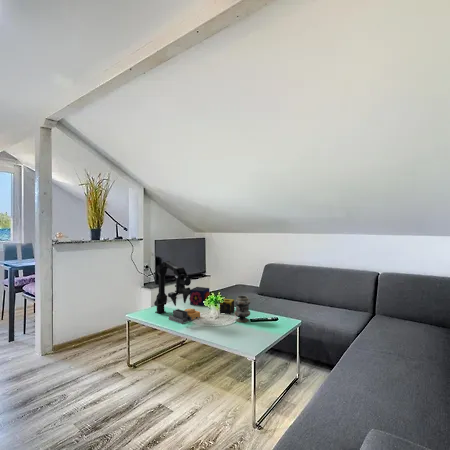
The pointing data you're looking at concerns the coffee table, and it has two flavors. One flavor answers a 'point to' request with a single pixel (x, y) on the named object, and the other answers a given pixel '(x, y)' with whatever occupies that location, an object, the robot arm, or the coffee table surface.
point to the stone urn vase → (242, 308)
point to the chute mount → (180, 319)
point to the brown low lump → (192, 313)
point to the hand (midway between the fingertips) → (180, 304)
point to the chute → (180, 314)
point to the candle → (227, 306)
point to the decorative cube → (198, 295)
